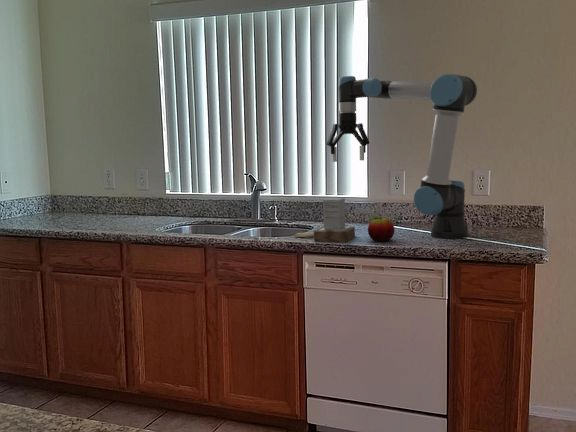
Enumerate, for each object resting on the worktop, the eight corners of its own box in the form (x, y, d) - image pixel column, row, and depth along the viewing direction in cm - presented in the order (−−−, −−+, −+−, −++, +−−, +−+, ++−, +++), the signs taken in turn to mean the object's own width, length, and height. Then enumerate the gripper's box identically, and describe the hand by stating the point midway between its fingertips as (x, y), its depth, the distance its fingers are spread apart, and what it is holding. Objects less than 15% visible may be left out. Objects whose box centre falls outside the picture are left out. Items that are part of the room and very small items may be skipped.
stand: (354, 236, 237) (354, 226, 236) (347, 242, 224) (347, 231, 223) (323, 235, 241) (323, 225, 241) (314, 241, 228) (313, 230, 228)
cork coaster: (321, 236, 238) (321, 234, 238) (300, 238, 234) (300, 237, 234) (311, 233, 247) (311, 231, 247) (291, 235, 244) (291, 233, 243)
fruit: (388, 243, 217) (388, 218, 216) (363, 241, 223) (363, 217, 222) (398, 239, 226) (398, 215, 225) (373, 237, 232) (373, 214, 231)
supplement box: (329, 226, 237) (328, 197, 235) (345, 227, 234) (345, 197, 232) (323, 229, 230) (322, 199, 228) (339, 230, 227) (339, 199, 225)
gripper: (368, 112, 250) (368, 159, 253) (318, 113, 241) (319, 162, 244) (376, 111, 243) (377, 160, 246) (325, 112, 234) (326, 162, 237)
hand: (348, 161), depth 245 cm, fingers open, 13 cm apart
